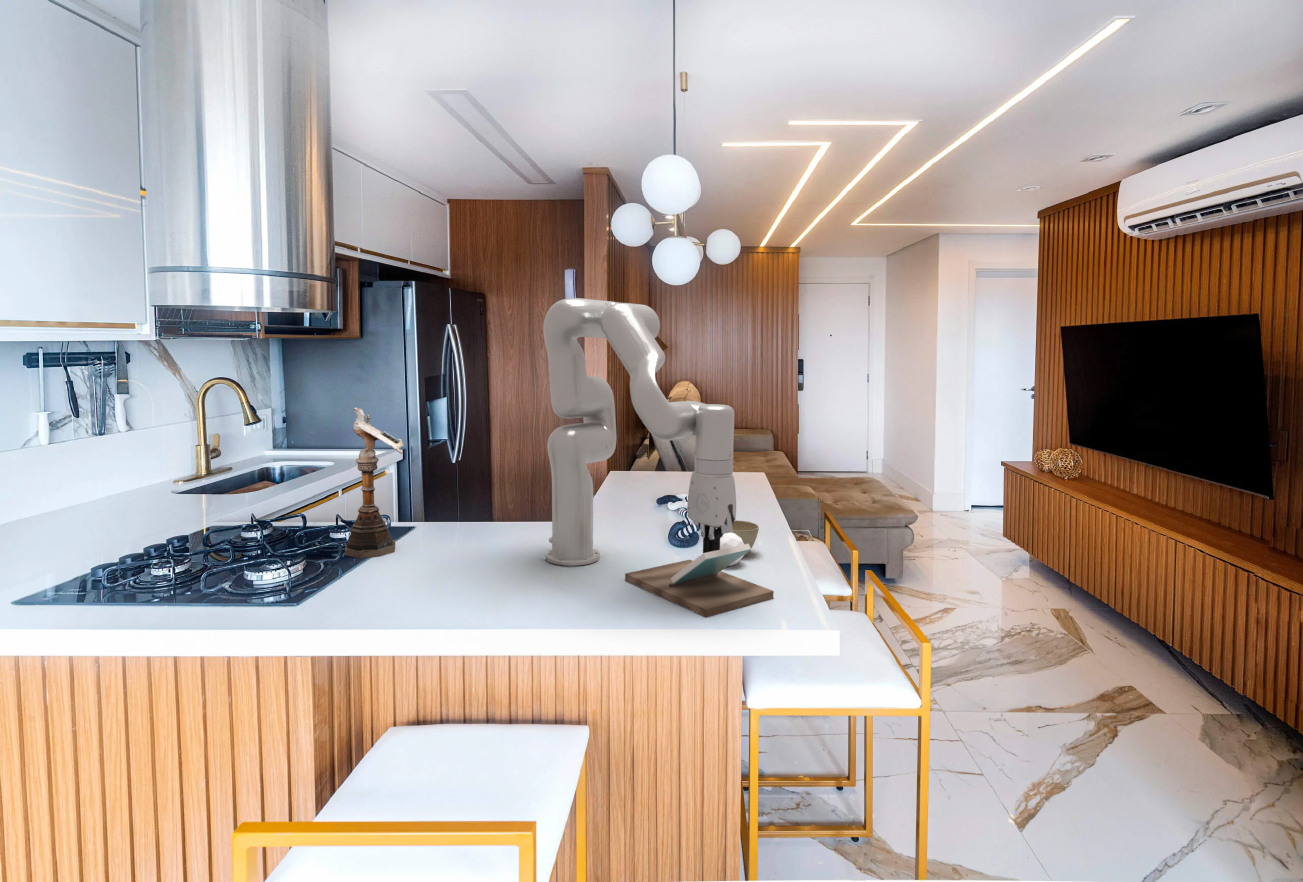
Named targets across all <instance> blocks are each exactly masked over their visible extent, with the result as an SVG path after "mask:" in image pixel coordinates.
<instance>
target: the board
mask: <svg viewBox="0 0 1303 882" xmlns="http://www.w3.org/2000/svg"><path fill="white" fill-rule="evenodd" d="M693 561H694V560H691V559H686V560H681V561H677V562H673V563H668V564H663V565H660V566H654V567H650V568H645V569H640V570H635V571H632V572H627V573H624V575H625V576H624V577H625V578H624V580H625V581H626V582H628V583H630V584H633V585H635V586H636V587H639V588H642V589H643V590H645V591H648V592H650V593H652V594H654V595H656V596H659V597H660V598H662V599H665V600H667V601H669V602H672V603H673V604H676V605H678V606H680V607H682V608H685V609H687V610H689V611H691V612H693V613H695V614H697V615H700V616H702V617H704V618H708V617H709V618H710V617H713V616H715V615H719V614H722V613H726V612H729V611H730V612H731V611H733V610H736V609H739V608H743V607H747V606H750V605H754V604H757V603H761V602H765V601H768V600H771V599H774V592H775V591H774V590H772V589H769V588H768V587H765V586H761V585H759V584H756V583H754V582H751V581H748V580H746V579H742V578H741V577H738V576H734V575H732V574H730V573H726V572H724V571H723V570H721V571H720V572H718V573H717V574H713V575H709V576H704V577H700V578H696V579H692V580H688V581H683V582H679V583H675V584H674V583H673V582H672V580H671V577H673V576H674V575H675V574H677V573H678V572H679V571H681V570H682V569H683V568H685V567H686V566H687V565H689V564H690V563H691V562H693Z"/></svg>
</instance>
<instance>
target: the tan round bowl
mask: <svg viewBox="0 0 1303 882" xmlns="http://www.w3.org/2000/svg"><path fill="white" fill-rule="evenodd" d="M732 528H733V532H731V533H735V534H736V535H737V536H739V537H740V538H742V541H743V543H744V544H749V546H750V548H751V549H750V551H751V550H752V548H753V547H754V545H755V542H756V540H757V537H758V534H759V528H760V526H759V525H758V523H755V522H752V521H747V520H738V519H735V523H734V524H732ZM750 551H748V552H747V553H745V554H744V556H743V557H746V556H748V554H749V553H750Z"/></svg>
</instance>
